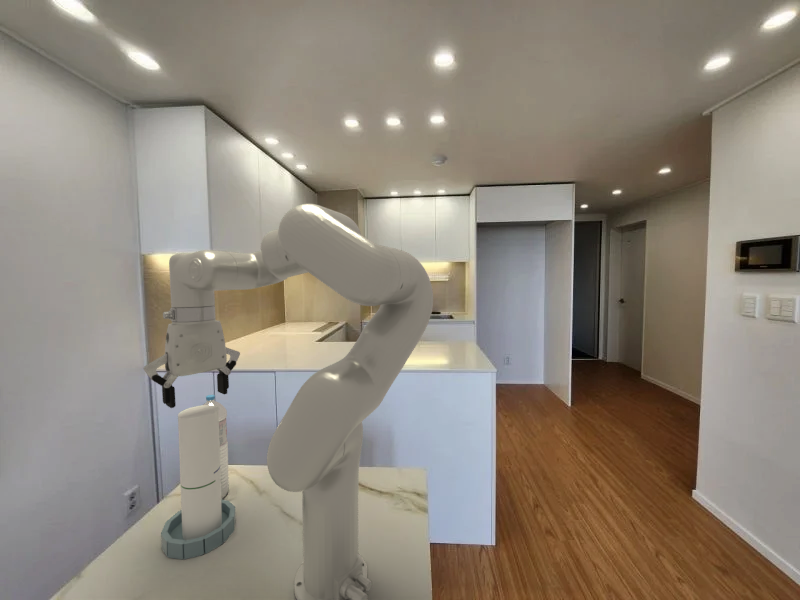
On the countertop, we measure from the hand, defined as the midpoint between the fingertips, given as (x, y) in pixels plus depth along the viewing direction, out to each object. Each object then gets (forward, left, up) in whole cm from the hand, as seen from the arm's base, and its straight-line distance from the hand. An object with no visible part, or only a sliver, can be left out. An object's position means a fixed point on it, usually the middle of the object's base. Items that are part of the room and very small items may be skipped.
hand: (198, 399), depth 69 cm
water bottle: (+11, -7, -29) cm, 32 cm away
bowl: (0, 0, -29) cm, 29 cm away
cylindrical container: (0, 0, -28) cm, 28 cm away
